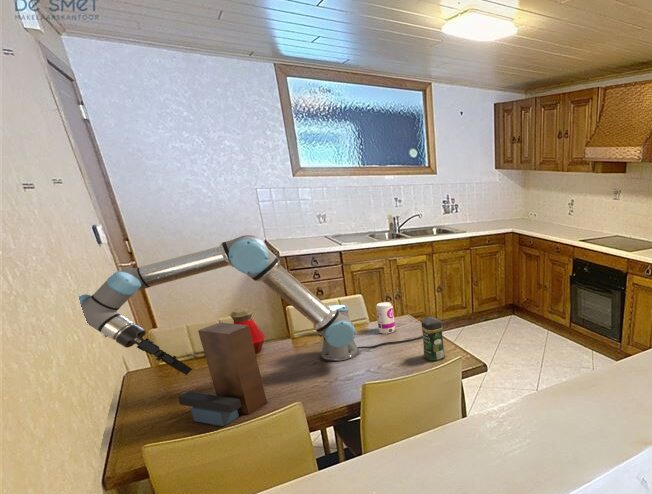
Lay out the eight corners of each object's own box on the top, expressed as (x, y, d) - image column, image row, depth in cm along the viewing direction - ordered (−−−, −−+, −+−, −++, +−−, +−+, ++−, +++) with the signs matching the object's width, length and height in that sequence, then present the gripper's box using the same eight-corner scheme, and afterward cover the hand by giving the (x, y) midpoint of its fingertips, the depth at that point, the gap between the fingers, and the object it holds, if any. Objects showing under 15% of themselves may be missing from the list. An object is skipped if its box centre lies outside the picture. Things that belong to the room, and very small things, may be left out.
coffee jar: (421, 355, 195) (418, 317, 188) (437, 351, 200) (434, 314, 193) (431, 363, 188) (428, 323, 181) (447, 358, 193) (444, 319, 186)
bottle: (269, 353, 195) (260, 312, 188) (234, 360, 188) (223, 317, 181) (266, 342, 207) (257, 303, 200) (232, 348, 200) (222, 308, 193)
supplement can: (398, 329, 225) (395, 302, 220) (388, 335, 218) (385, 307, 213) (385, 327, 228) (382, 301, 223) (375, 333, 221) (372, 305, 215)
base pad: (194, 421, 143) (190, 408, 142) (210, 411, 149) (207, 399, 147) (223, 426, 141) (219, 413, 139) (239, 416, 146) (235, 403, 145)
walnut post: (220, 409, 150) (197, 330, 140) (239, 398, 158) (219, 322, 147) (248, 414, 148) (228, 333, 137) (267, 402, 155) (248, 325, 144)
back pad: (180, 404, 144) (177, 396, 143) (191, 398, 147) (189, 391, 146) (231, 412, 139) (229, 404, 138) (241, 406, 143) (239, 398, 142)
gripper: (124, 345, 150) (183, 381, 157) (103, 335, 130) (171, 376, 137) (143, 329, 154) (199, 365, 161) (125, 316, 133) (190, 358, 140)
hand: (186, 370), depth 149 cm, fingers open, 13 cm apart
